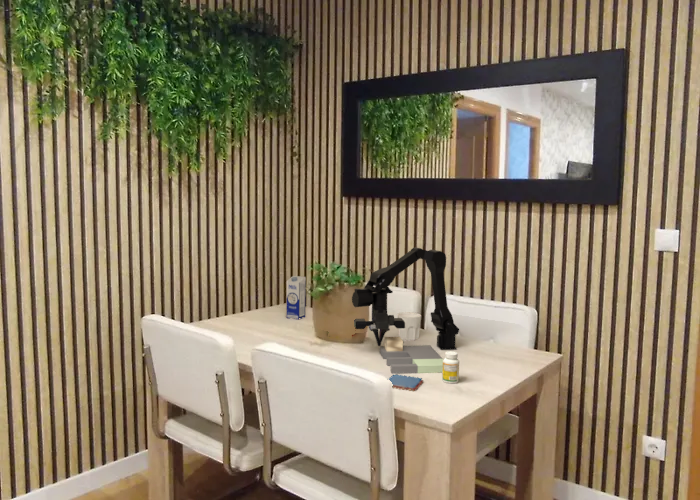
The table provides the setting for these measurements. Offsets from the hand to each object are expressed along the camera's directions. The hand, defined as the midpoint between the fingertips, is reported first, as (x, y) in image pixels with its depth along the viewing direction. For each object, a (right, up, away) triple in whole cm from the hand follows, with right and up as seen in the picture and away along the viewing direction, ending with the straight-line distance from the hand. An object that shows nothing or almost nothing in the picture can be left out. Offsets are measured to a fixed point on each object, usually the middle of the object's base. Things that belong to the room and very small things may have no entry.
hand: (378, 345), depth 219 cm
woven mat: (+7, -8, -31) cm, 33 cm away
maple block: (+5, -1, +1) cm, 6 cm away
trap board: (+12, -5, -7) cm, 14 cm away
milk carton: (-37, +3, +63) cm, 73 cm away
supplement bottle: (+22, -7, -28) cm, 36 cm away
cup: (+14, -1, +27) cm, 31 cm away
